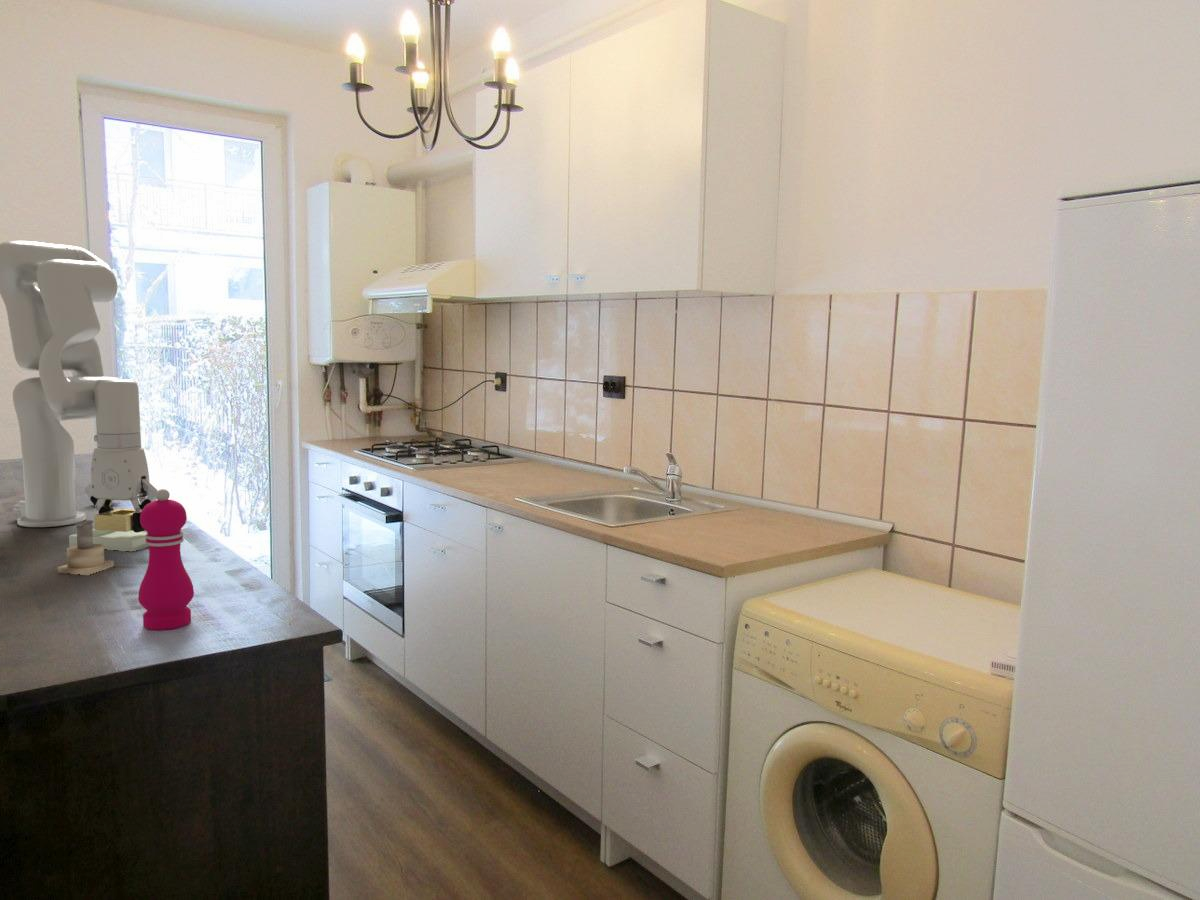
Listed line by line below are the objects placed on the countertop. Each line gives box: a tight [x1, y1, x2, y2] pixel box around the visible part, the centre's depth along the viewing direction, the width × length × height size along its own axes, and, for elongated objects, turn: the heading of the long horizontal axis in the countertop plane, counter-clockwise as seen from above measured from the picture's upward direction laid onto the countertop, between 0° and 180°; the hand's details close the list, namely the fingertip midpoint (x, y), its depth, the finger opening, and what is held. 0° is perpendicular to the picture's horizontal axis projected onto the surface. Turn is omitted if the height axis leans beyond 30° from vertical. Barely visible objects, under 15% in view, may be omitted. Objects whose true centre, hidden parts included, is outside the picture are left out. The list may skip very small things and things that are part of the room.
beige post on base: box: [57, 519, 115, 576], centre depth 149 cm, size 6×6×9 cm
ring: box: [93, 507, 136, 532], centre depth 169 cm, size 7×9×3 cm
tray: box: [68, 528, 149, 552], centre depth 169 cm, size 14×14×2 cm
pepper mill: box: [137, 488, 195, 631], centre depth 122 cm, size 7×7×20 cm
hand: (123, 529), depth 168 cm, fingers closed on ring, 7 cm apart
